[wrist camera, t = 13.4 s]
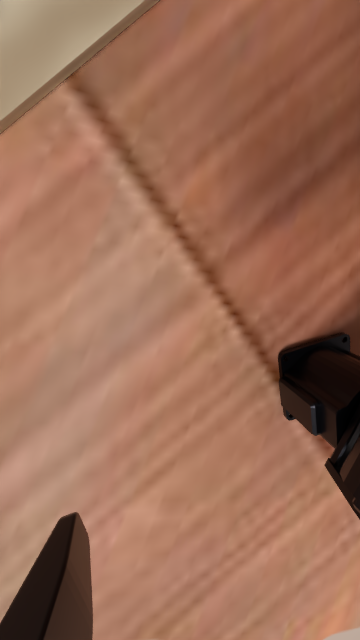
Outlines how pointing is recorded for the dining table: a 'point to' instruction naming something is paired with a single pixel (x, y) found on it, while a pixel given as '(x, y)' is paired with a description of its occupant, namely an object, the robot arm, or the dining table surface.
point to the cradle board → (53, 44)
